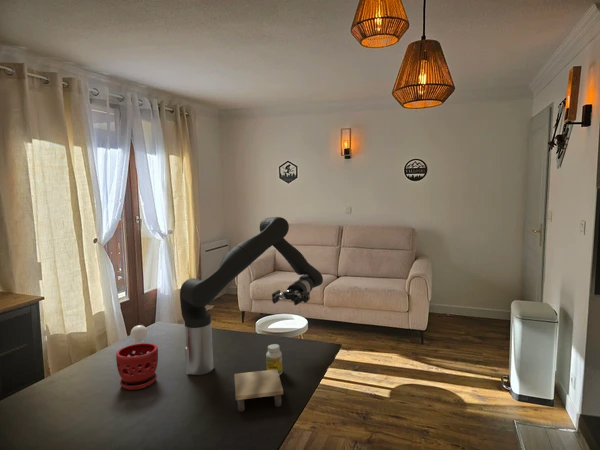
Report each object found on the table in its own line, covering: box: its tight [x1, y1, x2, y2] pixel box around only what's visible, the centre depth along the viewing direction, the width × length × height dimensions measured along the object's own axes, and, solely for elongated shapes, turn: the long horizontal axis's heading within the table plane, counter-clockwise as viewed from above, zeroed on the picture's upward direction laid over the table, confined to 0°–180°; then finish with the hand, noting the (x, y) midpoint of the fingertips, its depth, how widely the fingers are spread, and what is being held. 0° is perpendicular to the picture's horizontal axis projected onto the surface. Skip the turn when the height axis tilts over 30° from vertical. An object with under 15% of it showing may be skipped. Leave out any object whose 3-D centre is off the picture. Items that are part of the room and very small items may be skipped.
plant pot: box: [115, 342, 159, 391], centre depth 135 cm, size 13×13×12 cm
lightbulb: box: [130, 324, 148, 353], centre depth 161 cm, size 6×6×11 cm
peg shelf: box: [234, 369, 284, 412], centre depth 124 cm, size 14×14×5 cm
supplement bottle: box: [265, 343, 283, 376], centre depth 140 cm, size 6×6×10 cm
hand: (284, 301), depth 148 cm, fingers open, 8 cm apart
